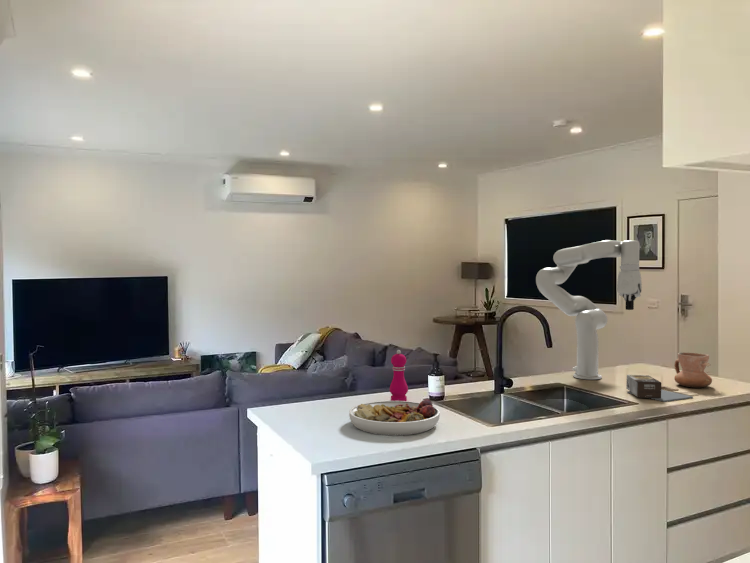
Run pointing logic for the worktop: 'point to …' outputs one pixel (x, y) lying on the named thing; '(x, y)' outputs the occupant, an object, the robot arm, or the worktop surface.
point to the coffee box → (644, 386)
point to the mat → (669, 396)
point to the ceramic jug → (692, 370)
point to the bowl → (395, 417)
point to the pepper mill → (398, 378)
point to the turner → (678, 391)
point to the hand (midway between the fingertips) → (629, 309)
